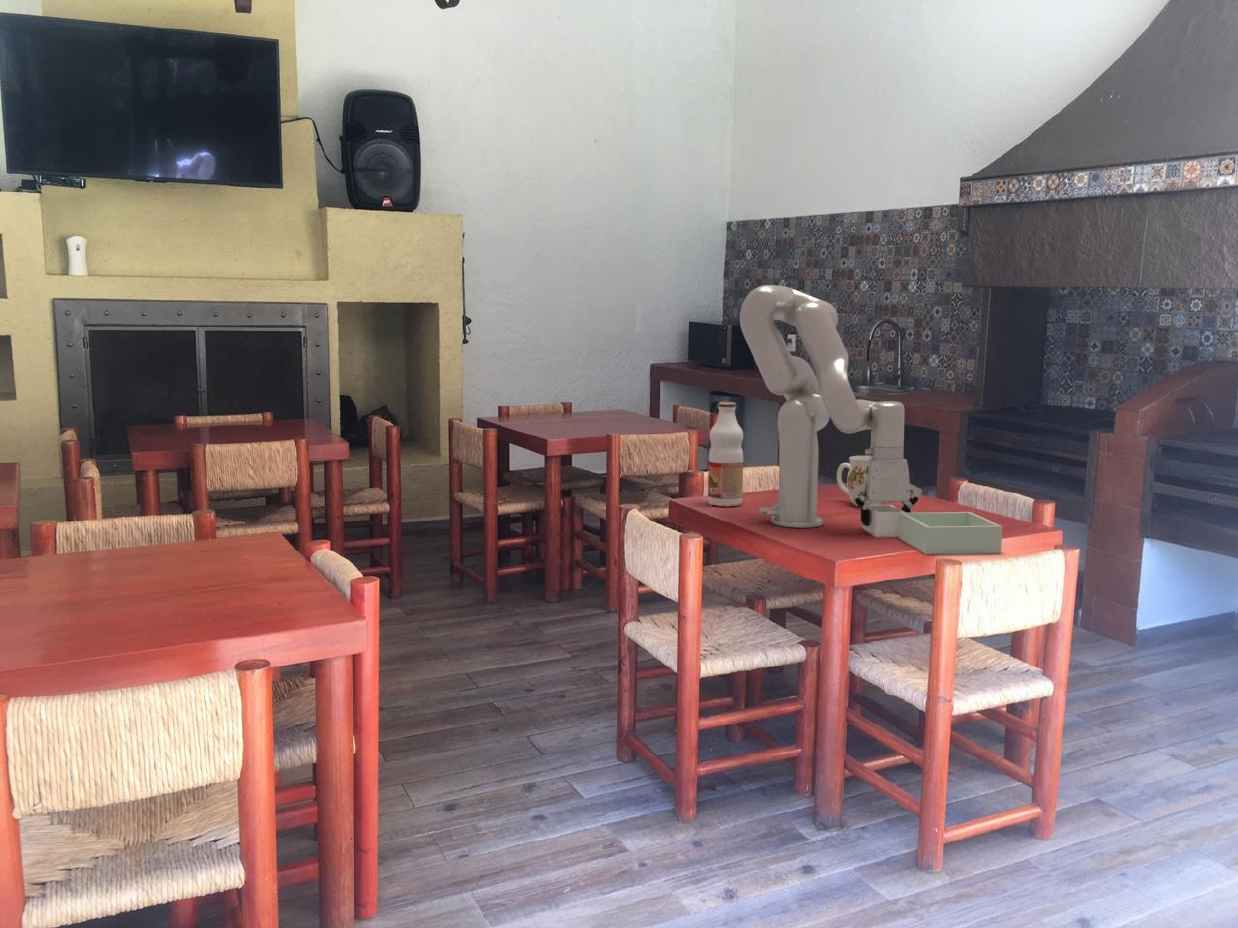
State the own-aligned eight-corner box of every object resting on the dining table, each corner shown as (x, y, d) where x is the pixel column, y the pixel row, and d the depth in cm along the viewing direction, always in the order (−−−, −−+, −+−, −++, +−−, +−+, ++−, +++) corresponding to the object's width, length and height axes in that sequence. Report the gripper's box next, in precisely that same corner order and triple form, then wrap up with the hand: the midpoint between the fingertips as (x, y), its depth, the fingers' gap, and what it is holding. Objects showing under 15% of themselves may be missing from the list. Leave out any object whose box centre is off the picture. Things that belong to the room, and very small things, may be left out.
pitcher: (848, 498, 302) (850, 450, 300) (903, 507, 289) (905, 457, 287) (824, 503, 295) (826, 454, 293) (880, 512, 282) (882, 460, 280)
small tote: (875, 537, 250) (876, 512, 250) (862, 529, 260) (863, 505, 259) (904, 537, 251) (905, 512, 250) (890, 528, 261) (891, 504, 260)
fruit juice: (737, 508, 285) (739, 404, 281) (703, 506, 288) (705, 403, 285) (745, 503, 294) (748, 401, 290) (712, 500, 297) (714, 400, 293)
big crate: (925, 554, 233) (927, 527, 232) (898, 537, 249) (899, 512, 248) (1000, 553, 234) (1002, 526, 233) (968, 537, 251) (970, 512, 250)
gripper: (856, 456, 248) (855, 528, 251) (928, 455, 250) (926, 526, 252) (846, 452, 256) (845, 522, 258) (916, 451, 257) (914, 520, 260)
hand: (885, 524), depth 255 cm, fingers open, 9 cm apart
